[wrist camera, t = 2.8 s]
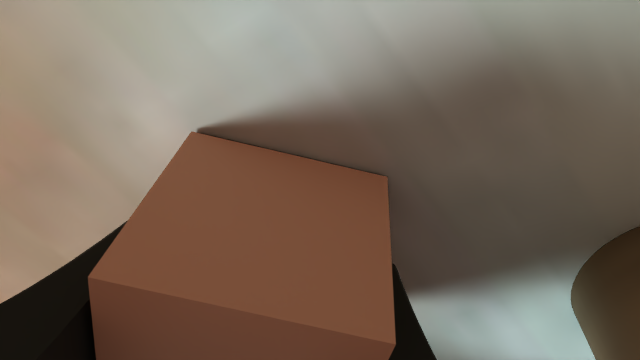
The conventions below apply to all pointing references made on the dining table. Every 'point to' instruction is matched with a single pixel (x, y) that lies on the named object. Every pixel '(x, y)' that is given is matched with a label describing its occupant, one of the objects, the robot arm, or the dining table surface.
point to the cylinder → (611, 299)
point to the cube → (249, 262)
